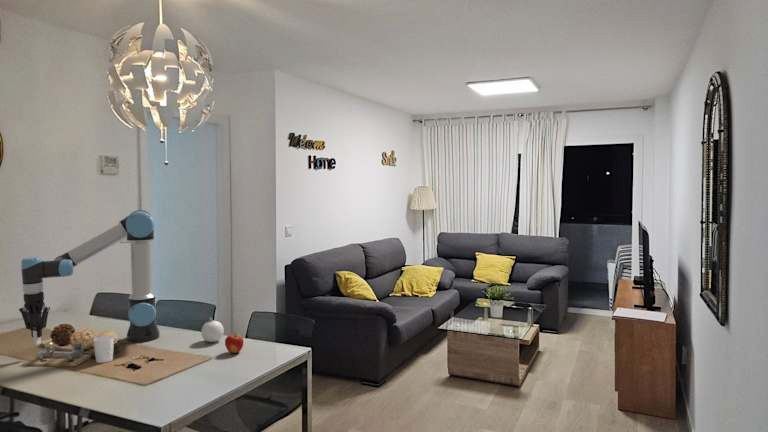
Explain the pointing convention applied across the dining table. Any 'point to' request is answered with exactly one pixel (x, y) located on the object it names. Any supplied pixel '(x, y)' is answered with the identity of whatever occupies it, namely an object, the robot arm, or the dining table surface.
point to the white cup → (104, 348)
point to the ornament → (212, 331)
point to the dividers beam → (68, 353)
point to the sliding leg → (47, 350)
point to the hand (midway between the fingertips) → (37, 344)
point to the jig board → (55, 361)
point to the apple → (234, 343)
